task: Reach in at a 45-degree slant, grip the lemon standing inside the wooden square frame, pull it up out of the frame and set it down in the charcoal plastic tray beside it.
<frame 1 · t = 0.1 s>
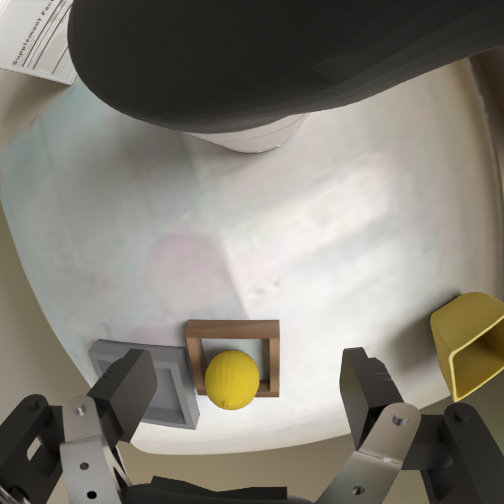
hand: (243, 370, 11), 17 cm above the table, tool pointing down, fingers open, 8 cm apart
wooden square frame: (236, 356, 31), on the table
supplement box: (69, 46, 22), on the table
charcoal tray: (149, 380, 34), on the table
lemon: (236, 354, 32), resting in wooden square frame
flower pot: (447, 318, 29), on the table
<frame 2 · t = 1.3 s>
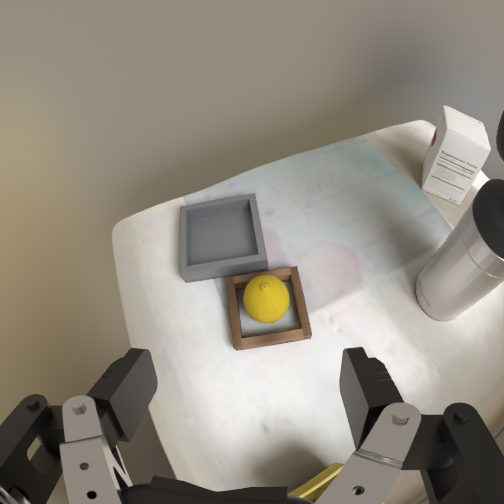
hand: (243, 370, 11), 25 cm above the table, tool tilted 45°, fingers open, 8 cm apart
wooden square frame: (267, 310, 38), on the table
supplement box: (440, 183, 47), on the table
charcoal tray: (223, 241, 44), on the table
lemon: (268, 311, 38), resting in wooden square frame
flower pot: (322, 493, 25), on the table
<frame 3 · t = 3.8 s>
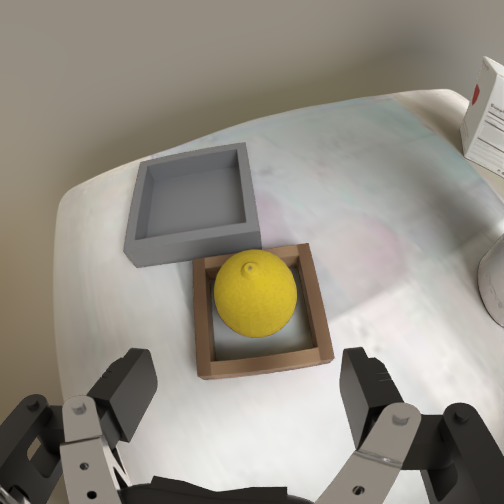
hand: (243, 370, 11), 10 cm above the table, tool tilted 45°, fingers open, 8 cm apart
wooden square frame: (259, 315, 23), on the table
supplement box: (482, 154, 32), on the table
charcoal tray: (196, 209, 29), on the table
lemon: (259, 315, 23), resting in wooden square frame
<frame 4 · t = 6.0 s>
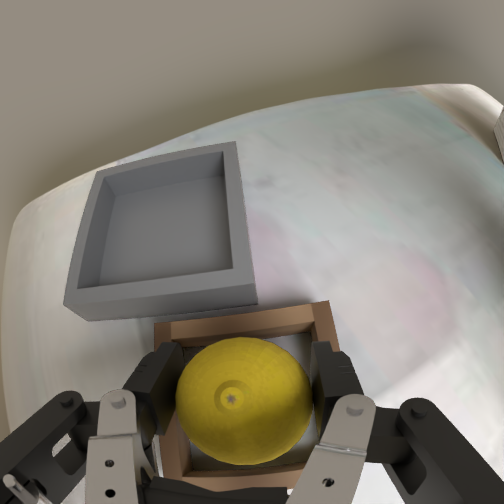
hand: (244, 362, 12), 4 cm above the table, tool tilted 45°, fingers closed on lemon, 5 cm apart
wooden square frame: (253, 405, 14), on the table
charcoal tray: (166, 237, 21), on the table
lemon: (253, 405, 14), resting in wooden square frame, touching gripper
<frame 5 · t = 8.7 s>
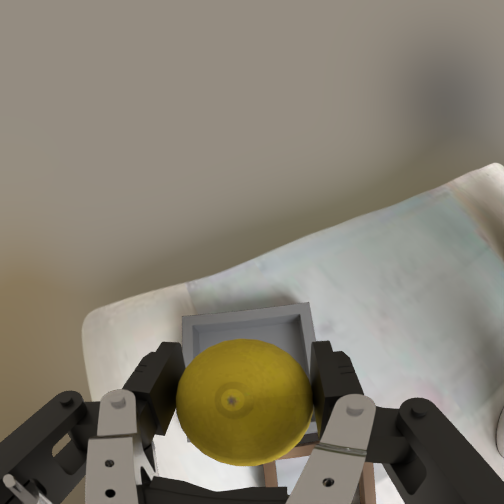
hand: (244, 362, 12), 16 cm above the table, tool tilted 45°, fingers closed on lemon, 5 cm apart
wooden square frame: (319, 484, 20), on the table
charcoal tray: (253, 377, 26), on the table
lemon: (253, 406, 14), point 12 cm above the table, touching gripper
when the fingers open (6 cm above the table, at t = 11.3 s): lemon drops 1 cm, resting on charcoal tray.
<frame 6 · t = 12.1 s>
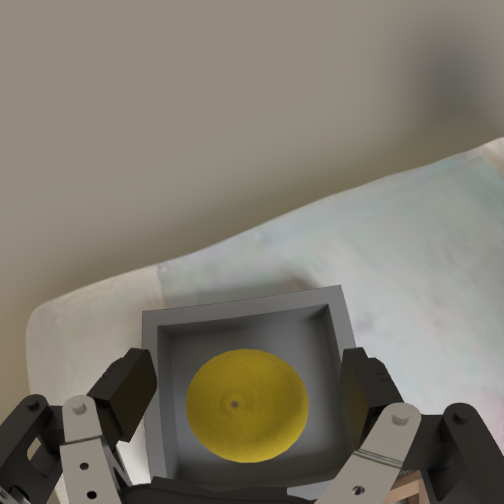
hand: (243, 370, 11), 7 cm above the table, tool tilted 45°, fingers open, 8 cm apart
charcoal tray: (255, 405, 16), on the table
lemon: (256, 408, 16), resting on charcoal tray
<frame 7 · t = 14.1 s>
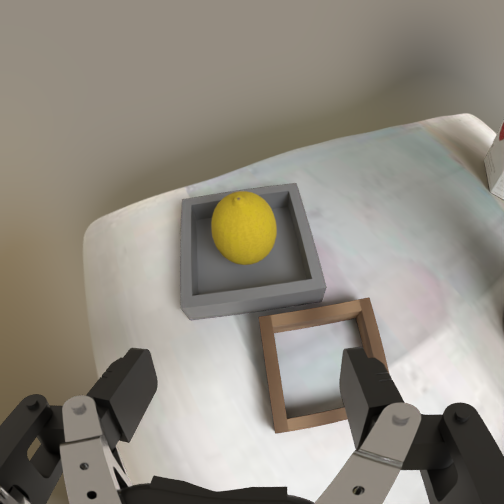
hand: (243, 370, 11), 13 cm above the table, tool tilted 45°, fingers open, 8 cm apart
wooden square frame: (324, 367, 22), on the table
charcoal tray: (248, 255, 29), on the table
lemon: (248, 255, 28), resting on charcoal tray
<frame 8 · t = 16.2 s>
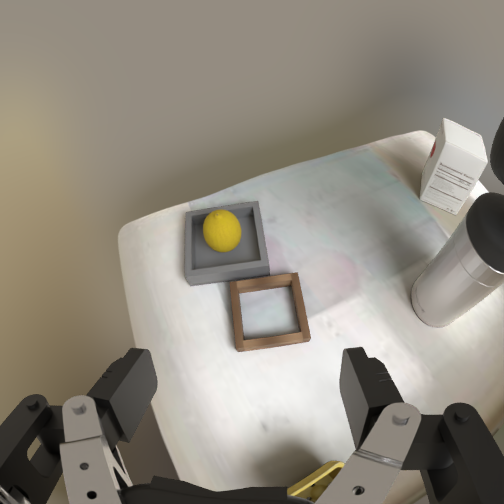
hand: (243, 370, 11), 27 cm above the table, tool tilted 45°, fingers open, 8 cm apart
wooden square frame: (268, 314, 40), on the table
supplement box: (438, 194, 49), on the table
charcoal tray: (226, 247, 46), on the table
lemon: (226, 247, 46), resting on charcoal tray
flower pot: (318, 490, 26), on the table
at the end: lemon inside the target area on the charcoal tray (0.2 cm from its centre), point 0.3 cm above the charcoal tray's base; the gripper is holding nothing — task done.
